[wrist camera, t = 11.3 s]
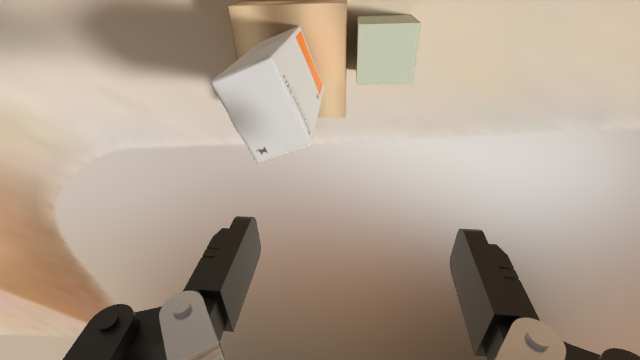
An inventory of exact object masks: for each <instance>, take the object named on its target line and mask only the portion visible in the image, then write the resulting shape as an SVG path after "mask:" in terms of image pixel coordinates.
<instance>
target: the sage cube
mask: <svg viewBox="0 0 640 360" xmlns="http://www.w3.org/2000/svg"><path fill="white" fill-rule="evenodd" d="M420 26H421V23H420V22H419V21H418V20H417V19H416V18H415V17H413V16H412V15H384V16H358V20H357V54H356V82H357V85H413V79H414V72H415V64H416V56H417V49H418V41H419V33H420Z"/></svg>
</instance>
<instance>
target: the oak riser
mask: <svg viewBox="0 0 640 360" xmlns="http://www.w3.org/2000/svg"><path fill="white" fill-rule="evenodd" d="M228 8H229V14H230V20H231V26H232V31H233V37H234V43H235V49H236V55H237V60H238V59H239V58H241V57H242V56H243V55H244V54H246V53H247V52H248V51H249V50H251V49H252V48H253V47H254V46H255V45H257V44H258V43H260V42H262V41H264V40H267V39H269V38H271V37H274V36H276V35H278V34H281V33H283V32H285V31H288V30H290V29H292V28H295V27H297V26H300V28H301V30H302V33H303V36H304V38H305V41H306V43H307V46H308V49H309V51H310V54H311V57H312V59H313V62H314V64H315V67H316V69H317V71H318V74H319V76H320V79H321V81H322V83H323V85H324V92H323V96H322V100H321V105H320V109H319V114H318V117H345V113H346V58H347V0H279V1H247V2H239V3H236V4H233V5H231V6H228Z"/></svg>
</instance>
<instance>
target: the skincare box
mask: <svg viewBox="0 0 640 360" xmlns="http://www.w3.org/2000/svg"><path fill="white" fill-rule="evenodd" d="M211 84H212V86H213V88H214V90H215V92H216V93H217V95H218V97H219V99H220V100H221V102H222V104H223V106H224V107H225V109H226V111H227V112H228V115H229V117H230V119H231V121H232V123H233V125H234V127H235V128H236V130H237V132H238V133H239V134H240V135H241V137H242V139H243V140H244V142H245V144H246V145H247V147H248V149H249V150H250V152H251V154H252V156H253V157H254V159H255V161H256V162H257V163H261V162H264V161H267V160H269V159H272V158H275V157H278V156H281V155H283V154H287V153H289V152H292V151H295V150H298V149H301V148H304V147H307V146H310V145H311V144H312V139H313V135H314V131H315V126H316V122H317V118H318V114H319V109H320V105H321V100H322V96H323V92H324V85H323V83H322V81H321V79H320V76H319V74H318V71H317V69H316V67H315V64H314V62H313V59H312V57H311V54H310V51H309V49H308V46H307V43H306V41H305V38H304V36H303V33H302V30H301V28H300V26H297V27H295V28H292V29H290V30H288V31H285V32H283V33H281V34H278V35H276V36H274V37H271V38H269V39H267V40H264V41H262V42H260V43H258V44H257V45H255V46H254V47H253V48H252V49H251V50H249V51H248V52H247V53H246V54H244V55H243V56H242V57H241V58H239V59H238V60H237V61H236V62H234V63H233V64H232V65H231V66H229V67H228V68H227V69H226V70H224V71H223V72H222V73H220V74H219V75H218V76H216V77H215V78H214V79H212V80H211Z"/></svg>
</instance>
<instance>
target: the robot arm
mask: <svg viewBox="0 0 640 360" xmlns="http://www.w3.org/2000/svg"><path fill="white" fill-rule="evenodd" d="M260 250H261V245H260V239H259V233H258V228H257V223H256V219H255V218H254V217H239V216H237V217H235V218H234V220H233V222H232V224H231V226H230V228H229V229H227V228H222V229H221V230H220V231H219V232H218V233H217V234H215V235H214V236H213V238H212V239H211V241H210V243H209V245H208V247H207V249H206V250H205V252H204V254H203V257H202V258H201V259H200V261H199V263H198V265H197V267H196V268H195V270H194V272H193V274H192V276H191V278H190V279H189V282H188V283H187V285H186V287H185V289H184V290H183V292H180V293H178V294H175V295H174V296H172V297H171V298H169V299H168V300H167V301H166V302H165V303H164V305H163V306H162V307H158V308H154V309H149V310H144V311H140V312H135V313H134V312H133V310H132V308H131V307H130V306H128V305H125V304H117V305H113V306H110V307H107V308H105V309H103V310H102V311H100V312H99V313H97V314H96V315H95V316H94V317H93V318H92V319H91V320H90V321H89V323H88V324H87V326H86V327H85V328H84V330H83V331H82V333H81V334H80V336H79V337H78V338H77V340H76V341H75V343H74V344H73V346H72V347H71V349H70V350H69V351H68V353H67V354H66V356H65V357H64V358H63V360H226V359H225V356H224V353H223V350H222V347H221V344H220V339H221V337H222V334H223V331H231V332H234V329H235V326H236V323H237V320H238V317H239V314H240V311H241V309H242V306H243V303H244V300H245V297H246V294H247V292H248V289H249V286H250V283H251V280H252V277H253V275H254V271H255V269H256V266H257V263H258V260H259V257H260ZM450 269H451V274H452V277H453V281H454V285H455V288H456V292H457V295H458V298H459V302H460V306H461V309H462V313H463V316H464V319H465V323H466V327H467V330H468V334H469V337H470V341H471V344H472V348H473V351H474V355H476V356H486V357H487V360H640V357H639V356H638V355H636V354H634V353H632V352H629V351H626V350H623V349H617V348H613V349H608V350H606V351H604V352H603V353H602V354H601V355H598V354H595V353H593V352H590V351H587V350H584V349H581V348H578V347H576V346H573V345H570V344H568V343H566V342H564V341H563V340H562V339H561V337H560V336H559V335H558V334H557V333H556V332H555V331H554V330H553V329H552V328H551V327H549V326H548V325H546V324H545V323H543V322H541V321H540V320H539V318H538V316H537V314H536V312H535V310H534V308H533V306H532V304H531V302H530V300H529V298H528V296H527V294H526V292H525V290H524V288H523V286H522V284H521V282H520V280H519V279H518V276H517V274H516V272H515V270H514V267H513V265H512V263H511V261H510V259H509V257H508V255H507V254H505V253H504V252H503V251H502V250H501V249H500V248H499V247H498V246H497V245H495V244H488V242H487V240H486V237H485V235H484V233H483V231H482V230H472V229H459V231H458V233H457V236H456V240H455V243H454V246H453V250H452V253H451V257H450Z"/></svg>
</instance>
